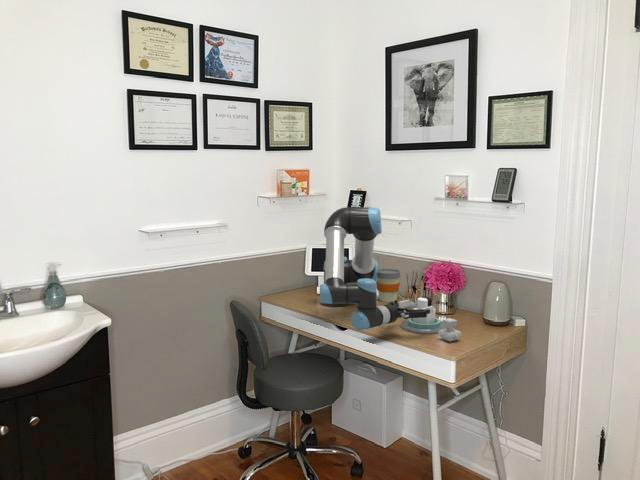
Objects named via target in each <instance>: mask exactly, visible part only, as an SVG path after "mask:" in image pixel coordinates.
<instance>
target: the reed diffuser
mask: <svg viewBox="0 0 640 480" xmlns="http://www.w3.org/2000/svg"><path fill="white" fill-rule="evenodd" d="M414 273H416V274H415V277H412V278H411V283H413V281H414V283H413V284H411V287H410V286H409V285H407V290H408V292H409V294H408V300H410V306H408V307H404V308H407V309H415V308H417V303H416V302H414V301H413V300H414V298H413V295H414V290H415V287H416V283H417V280H418V277H419V274H418V272H415V271H414V270H413V271H412V276H414ZM406 275H408V273H406ZM414 278H415V279H414ZM406 280H407V283H409V279H408V276H406ZM409 287H410V288H409ZM412 288H413V289H412ZM410 290H412V291H410ZM404 312H406V310H404Z"/></svg>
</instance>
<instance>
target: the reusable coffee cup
mask: <svg viewBox="0 0 640 480" xmlns="http://www.w3.org/2000/svg"><path fill="white" fill-rule="evenodd" d="M400 279H401V271H400V270H399V269H393V268H380V269H378V273H377V279H376V289H377V293H378V298H379V301H381V302H385V303H386V302H387V303H389V302H391V301H392V302H393V303H394V301H395V300H397V299H398V292H399V290H400ZM397 301H398V300H397Z"/></svg>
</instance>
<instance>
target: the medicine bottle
mask: <svg viewBox="0 0 640 480" xmlns="http://www.w3.org/2000/svg"><path fill="white" fill-rule="evenodd" d="M432 300H433V299H432V298H431V297H429V296H420V297H417V301H416V302H417V303H416V308H415V309H414V310H422V309H423V308H427V307H431V306H433V304H432ZM436 310H437V309H436V308H435V307H434V313H431V314H427V317H425V318H413V322H415V323H420V324H433V323H435V318H436Z"/></svg>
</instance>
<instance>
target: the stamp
mask: <svg viewBox="0 0 640 480" xmlns="http://www.w3.org/2000/svg"><path fill="white" fill-rule="evenodd" d="M442 322H443V323H444V325H446V326H447V329H442V330H439V331H438V334H437V335H438V336H439V337H440V339H442V340H445V341H447V342H453V341H457V340H459V339H460V337H461V336H462V335H463V334H462V331H460V330H457V329H456V328H454V327H456V326H457V325H458V320H457V319H454V318H450V317H449V318H444V319H442Z"/></svg>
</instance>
